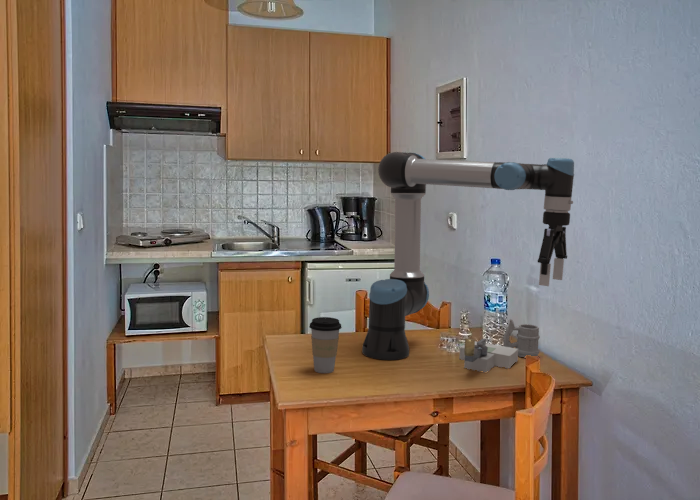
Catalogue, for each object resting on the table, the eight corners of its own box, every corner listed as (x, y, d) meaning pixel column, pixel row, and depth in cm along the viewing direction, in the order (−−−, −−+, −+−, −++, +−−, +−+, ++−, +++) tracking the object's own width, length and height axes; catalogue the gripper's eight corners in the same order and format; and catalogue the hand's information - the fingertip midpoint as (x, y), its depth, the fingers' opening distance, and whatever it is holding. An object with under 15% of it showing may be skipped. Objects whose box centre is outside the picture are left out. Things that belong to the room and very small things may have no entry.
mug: (541, 359, 204) (544, 323, 203) (504, 357, 205) (506, 321, 203) (535, 352, 212) (538, 317, 210) (500, 351, 213) (502, 316, 211)
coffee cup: (316, 377, 180) (317, 325, 178) (302, 367, 188) (304, 317, 186) (345, 373, 184) (347, 322, 182) (331, 363, 193) (333, 315, 191)
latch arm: (475, 351, 196) (476, 329, 195) (489, 353, 194) (490, 332, 193) (459, 361, 185) (461, 339, 184) (474, 364, 182) (475, 342, 182)
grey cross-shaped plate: (459, 359, 202) (460, 340, 201) (469, 352, 210) (470, 334, 209) (509, 368, 194) (510, 349, 193) (517, 361, 202) (518, 342, 201)
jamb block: (464, 368, 193) (465, 344, 192) (471, 362, 199) (473, 339, 198) (486, 372, 189) (488, 348, 188) (493, 366, 195) (495, 342, 194)
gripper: (557, 214, 174) (551, 290, 176) (580, 210, 194) (574, 278, 197) (530, 211, 178) (524, 286, 181) (556, 208, 198) (550, 275, 201)
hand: (550, 282), depth 189 cm, fingers open, 13 cm apart
